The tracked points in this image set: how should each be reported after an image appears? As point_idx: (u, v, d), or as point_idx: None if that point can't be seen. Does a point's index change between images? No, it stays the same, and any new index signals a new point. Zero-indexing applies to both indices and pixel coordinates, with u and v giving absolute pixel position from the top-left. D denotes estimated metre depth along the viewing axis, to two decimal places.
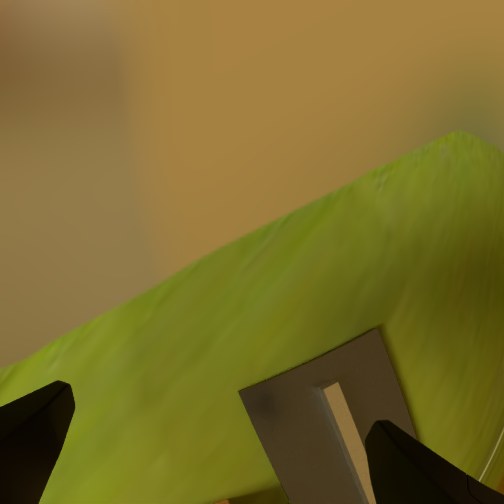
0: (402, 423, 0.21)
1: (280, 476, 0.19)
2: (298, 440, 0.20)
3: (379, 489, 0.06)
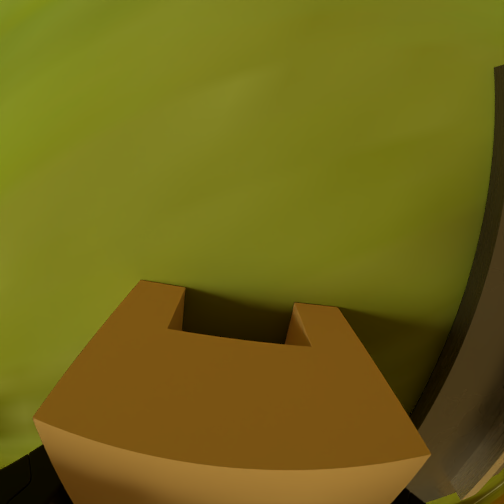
0: None
1: (481, 303, 0.07)
2: None
3: None
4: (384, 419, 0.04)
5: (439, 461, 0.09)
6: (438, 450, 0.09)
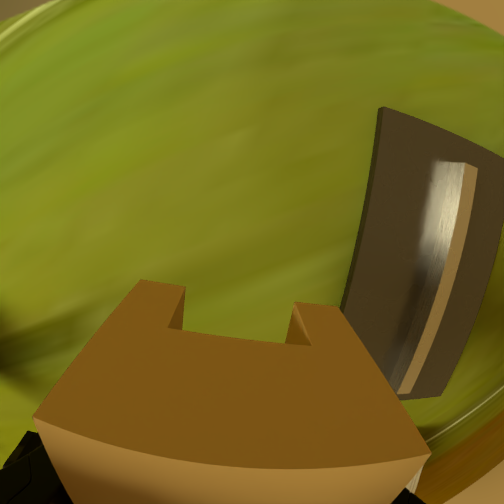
0: (483, 275, 0.18)
1: (365, 235, 0.17)
2: (407, 205, 0.17)
3: None
4: (384, 418, 0.04)
5: (370, 352, 0.19)
6: (365, 339, 0.19)
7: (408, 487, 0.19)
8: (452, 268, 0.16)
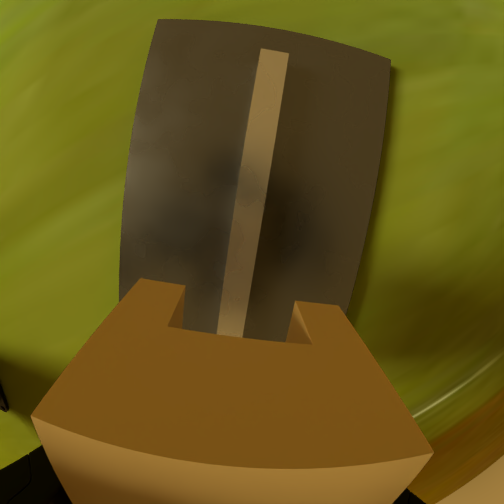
0: (352, 221, 0.15)
1: (131, 163, 0.14)
2: (186, 120, 0.13)
3: None
4: (386, 417, 0.04)
5: None
6: None
7: None
8: (254, 197, 0.13)
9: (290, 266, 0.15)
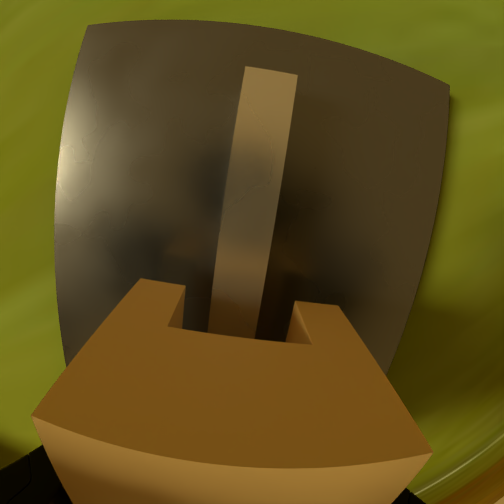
0: (380, 335, 0.10)
1: (59, 257, 0.09)
2: (128, 193, 0.08)
3: None
4: (386, 417, 0.04)
5: None
6: None
7: None
8: (236, 336, 0.08)
9: None
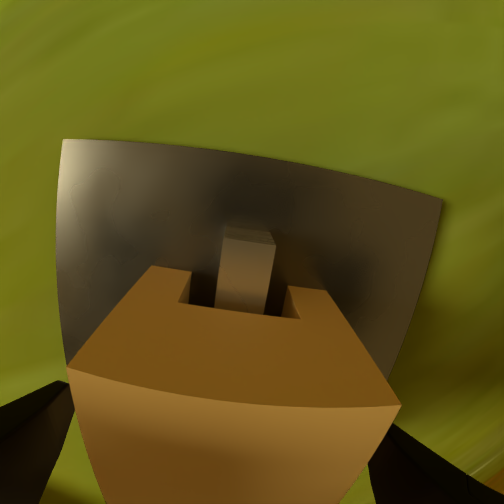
0: None
1: (69, 360, 0.10)
2: None
3: (379, 489, 0.06)
4: (360, 375, 0.05)
5: None
6: None
7: None
8: None
9: None
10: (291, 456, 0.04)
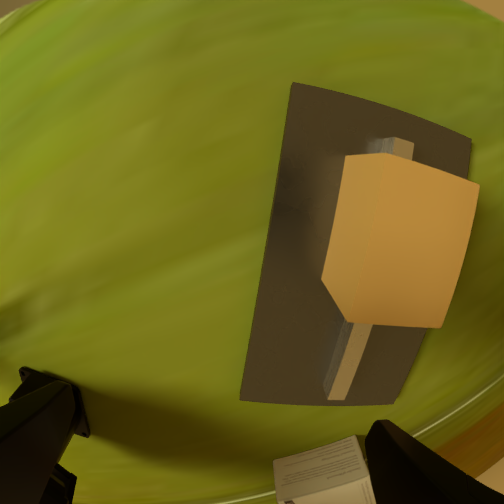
0: None
1: (274, 223, 0.17)
2: (325, 188, 0.16)
3: (379, 489, 0.06)
4: None
5: (294, 352, 0.19)
6: (286, 337, 0.18)
7: (363, 498, 0.19)
8: None
9: None
10: (451, 202, 0.11)
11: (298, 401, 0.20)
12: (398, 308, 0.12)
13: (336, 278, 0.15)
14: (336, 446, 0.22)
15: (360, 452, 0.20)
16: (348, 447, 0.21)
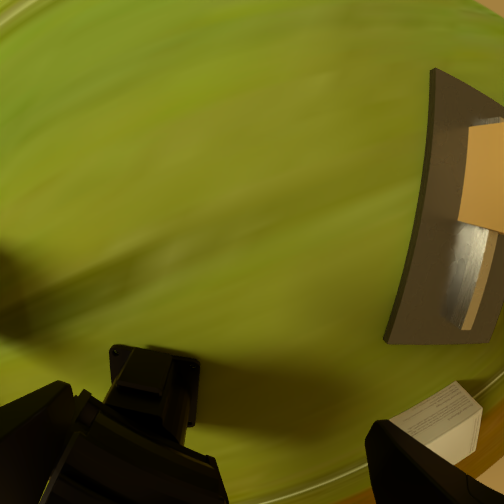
0: None
1: (431, 170, 0.17)
2: (459, 149, 0.17)
3: (379, 489, 0.06)
4: None
5: (436, 287, 0.19)
6: (432, 273, 0.19)
7: (471, 439, 0.19)
8: None
9: (495, 247, 0.19)
10: None
11: (430, 340, 0.20)
12: None
13: (482, 212, 0.16)
14: (444, 393, 0.22)
15: (466, 392, 0.21)
16: (454, 391, 0.22)
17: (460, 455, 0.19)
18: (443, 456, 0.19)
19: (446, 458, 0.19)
